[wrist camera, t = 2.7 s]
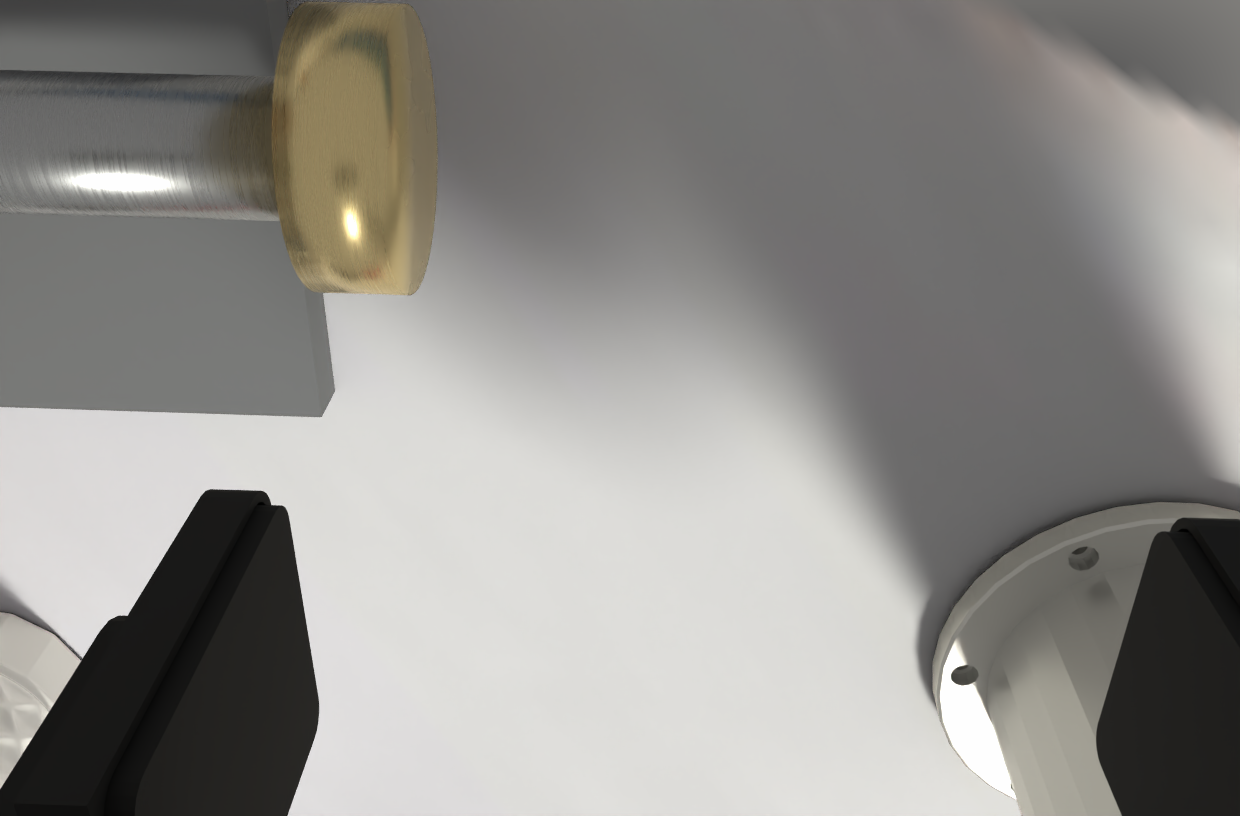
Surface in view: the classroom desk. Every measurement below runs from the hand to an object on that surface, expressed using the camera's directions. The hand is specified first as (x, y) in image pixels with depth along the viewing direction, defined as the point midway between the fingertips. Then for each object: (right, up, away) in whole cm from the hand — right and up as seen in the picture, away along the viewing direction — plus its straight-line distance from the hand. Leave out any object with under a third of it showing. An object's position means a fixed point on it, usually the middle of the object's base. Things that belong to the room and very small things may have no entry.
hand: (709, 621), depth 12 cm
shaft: (-14, +9, +16) cm, 23 cm away
